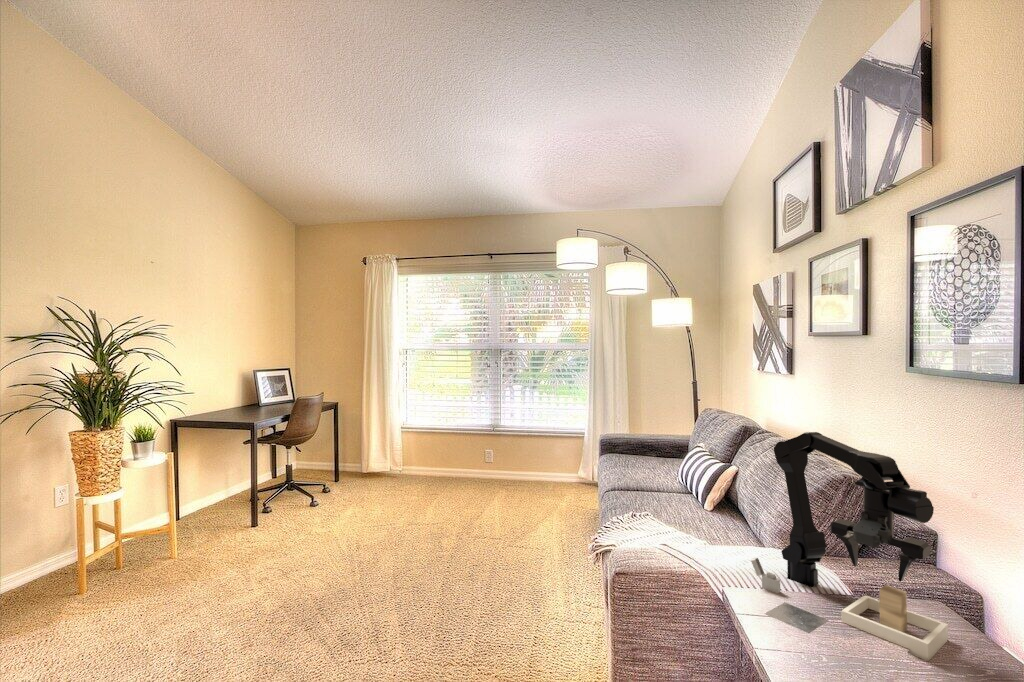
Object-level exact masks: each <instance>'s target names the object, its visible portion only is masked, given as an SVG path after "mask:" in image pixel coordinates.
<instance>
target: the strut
mask: <svg viewBox="0 0 1024 682" xmlns="http://www.w3.org/2000/svg"><path fill="white" fill-rule="evenodd" d="M878 590H879V591H878V592H879V593H878V594H879V599H878V600H879V605H880V612H879V623H880V624H882V625H885V626H887V627H890V628H893V629H895V630H898V631H901V632H903V633H906V632H907V631H908V623H907V610H908V604H907V601H908V600H907V597H908V596H907V591H906V590H902V589H899V588H896V587H893V586H890V585H887V584H885V585H883V586H882V587H880V588H878Z"/></svg>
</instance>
